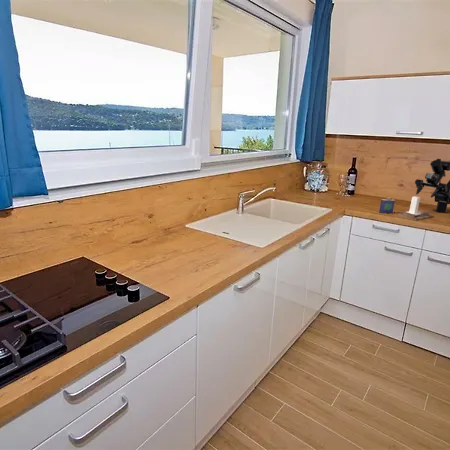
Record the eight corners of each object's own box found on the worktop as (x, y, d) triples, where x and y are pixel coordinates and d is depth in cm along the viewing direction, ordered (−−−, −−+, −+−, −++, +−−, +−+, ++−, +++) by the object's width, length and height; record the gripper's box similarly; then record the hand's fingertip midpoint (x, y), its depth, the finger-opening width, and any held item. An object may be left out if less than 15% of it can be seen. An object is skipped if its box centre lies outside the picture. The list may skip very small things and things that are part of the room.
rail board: (415, 212, 224) (416, 208, 223) (433, 216, 215) (434, 212, 214) (397, 215, 214) (398, 211, 214) (415, 220, 205) (416, 216, 204)
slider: (410, 212, 216) (414, 195, 213) (420, 214, 211) (424, 197, 208) (405, 213, 213) (408, 196, 210) (414, 215, 208) (418, 198, 205)
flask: (391, 212, 222) (394, 196, 219) (393, 213, 219) (396, 197, 216) (378, 212, 221) (380, 196, 218) (380, 213, 218) (383, 197, 215)
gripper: (419, 166, 217) (406, 184, 215) (449, 170, 202) (435, 190, 200) (423, 177, 223) (410, 195, 221) (453, 182, 208) (440, 201, 206)
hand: (423, 195), depth 212 cm, fingers open, 9 cm apart
